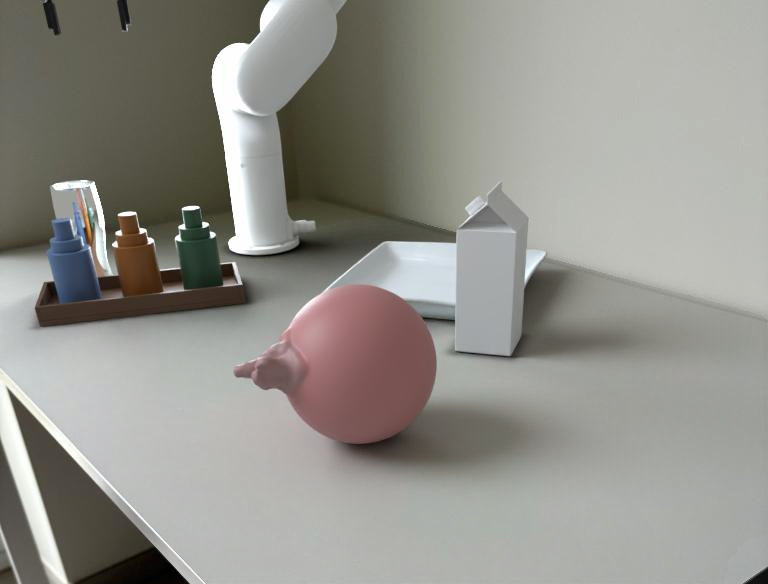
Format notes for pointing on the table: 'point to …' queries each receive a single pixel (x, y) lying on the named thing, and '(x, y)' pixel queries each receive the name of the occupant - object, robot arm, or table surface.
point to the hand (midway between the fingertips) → (91, 33)
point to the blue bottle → (72, 265)
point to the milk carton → (490, 275)
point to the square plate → (418, 274)
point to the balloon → (352, 364)
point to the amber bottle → (136, 258)
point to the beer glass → (83, 217)
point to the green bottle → (197, 252)
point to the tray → (139, 298)
